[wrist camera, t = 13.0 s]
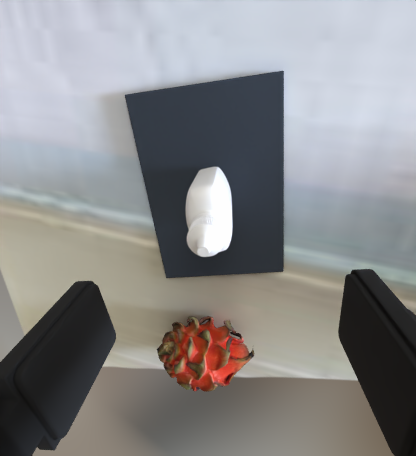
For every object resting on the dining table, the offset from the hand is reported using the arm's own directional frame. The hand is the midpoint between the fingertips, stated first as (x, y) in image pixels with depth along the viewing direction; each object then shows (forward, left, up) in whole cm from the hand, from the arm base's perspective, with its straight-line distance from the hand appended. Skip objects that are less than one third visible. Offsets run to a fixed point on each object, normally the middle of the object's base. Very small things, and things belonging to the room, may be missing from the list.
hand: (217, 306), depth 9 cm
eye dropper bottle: (+1, -1, -17) cm, 17 cm away
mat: (+1, -1, -18) cm, 18 cm away
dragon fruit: (+20, -4, -18) cm, 27 cm away
